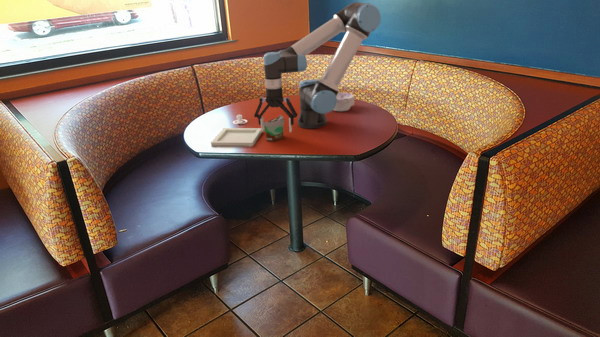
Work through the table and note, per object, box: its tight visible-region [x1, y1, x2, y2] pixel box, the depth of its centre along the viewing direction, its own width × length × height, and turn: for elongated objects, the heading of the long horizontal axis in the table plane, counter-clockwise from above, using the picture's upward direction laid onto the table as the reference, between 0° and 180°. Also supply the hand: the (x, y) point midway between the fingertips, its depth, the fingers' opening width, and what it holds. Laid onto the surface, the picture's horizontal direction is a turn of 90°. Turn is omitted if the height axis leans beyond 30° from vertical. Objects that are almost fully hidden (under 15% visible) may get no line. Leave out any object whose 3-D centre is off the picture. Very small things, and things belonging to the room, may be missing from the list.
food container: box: [263, 114, 286, 143], centre depth 215 cm, size 12×6×10 cm, turn 143°
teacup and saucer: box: [232, 114, 248, 125], centre depth 243 cm, size 9×8×4 cm
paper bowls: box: [332, 92, 355, 112], centre depth 254 cm, size 15×15×8 cm
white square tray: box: [210, 127, 263, 148], centre depth 219 cm, size 20×20×2 cm
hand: (276, 131), depth 215 cm, fingers open, 13 cm apart
